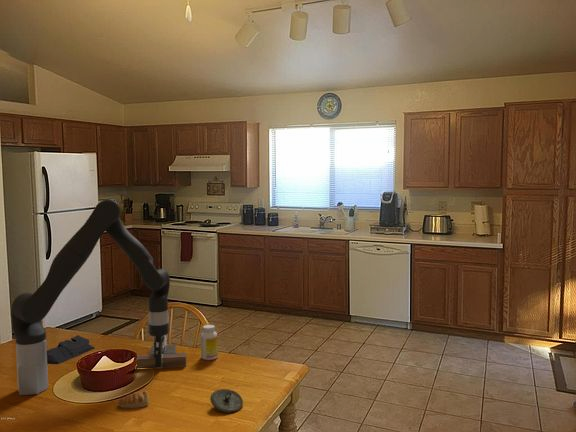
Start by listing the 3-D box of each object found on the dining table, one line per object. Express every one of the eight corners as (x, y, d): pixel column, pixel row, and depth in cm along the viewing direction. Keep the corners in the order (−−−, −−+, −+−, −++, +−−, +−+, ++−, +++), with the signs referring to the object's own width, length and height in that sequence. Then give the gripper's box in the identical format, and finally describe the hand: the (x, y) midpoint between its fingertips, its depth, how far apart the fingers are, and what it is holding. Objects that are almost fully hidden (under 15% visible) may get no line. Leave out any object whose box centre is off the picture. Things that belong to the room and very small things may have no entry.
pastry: (118, 412, 152) (118, 400, 152) (117, 403, 158) (117, 391, 158) (149, 406, 156) (149, 395, 155) (147, 398, 162) (147, 386, 162)
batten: (185, 366, 188) (185, 356, 188) (132, 370, 185) (131, 359, 184) (186, 362, 192) (186, 352, 192) (133, 365, 189) (133, 355, 188)
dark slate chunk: (28, 361, 195) (28, 349, 195) (71, 343, 216) (71, 333, 215) (57, 366, 190) (57, 354, 189) (98, 347, 210) (98, 337, 210)
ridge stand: (174, 357, 197) (173, 333, 196) (148, 359, 195) (148, 334, 195) (176, 349, 207) (175, 326, 206) (151, 350, 205) (151, 327, 204)
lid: (227, 396, 162) (227, 382, 162) (249, 405, 156) (249, 390, 156) (203, 408, 154) (203, 393, 154) (225, 417, 148) (225, 402, 148)
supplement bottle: (221, 356, 198) (220, 325, 197) (210, 361, 193) (209, 330, 192) (208, 353, 202) (208, 323, 201) (197, 358, 196) (197, 327, 195)
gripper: (167, 326, 181) (168, 369, 182) (170, 316, 195) (171, 355, 196) (146, 327, 179) (147, 370, 181) (150, 316, 193) (151, 356, 195)
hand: (159, 362), depth 188 cm, fingers open, 8 cm apart
